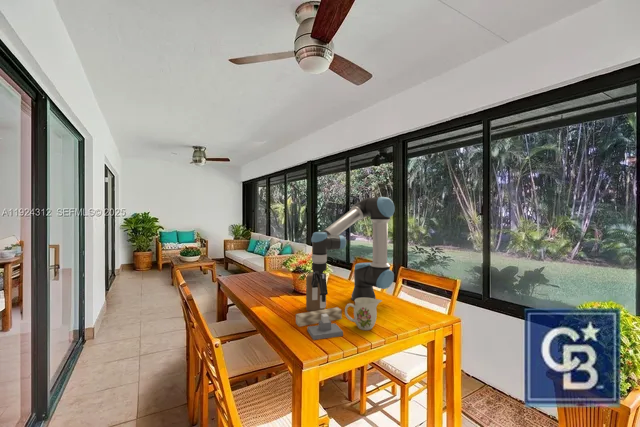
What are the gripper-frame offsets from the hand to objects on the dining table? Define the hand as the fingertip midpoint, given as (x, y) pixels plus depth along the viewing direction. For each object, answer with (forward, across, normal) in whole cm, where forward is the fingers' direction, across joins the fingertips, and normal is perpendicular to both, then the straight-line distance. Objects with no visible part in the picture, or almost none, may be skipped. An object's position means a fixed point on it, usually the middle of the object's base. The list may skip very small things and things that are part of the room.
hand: (318, 303), depth 150 cm
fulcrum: (+9, +15, -2) cm, 17 cm away
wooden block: (+9, -18, +4) cm, 21 cm away
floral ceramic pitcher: (+9, +14, +18) cm, 25 cm away
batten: (+9, 0, 0) cm, 9 cm away
